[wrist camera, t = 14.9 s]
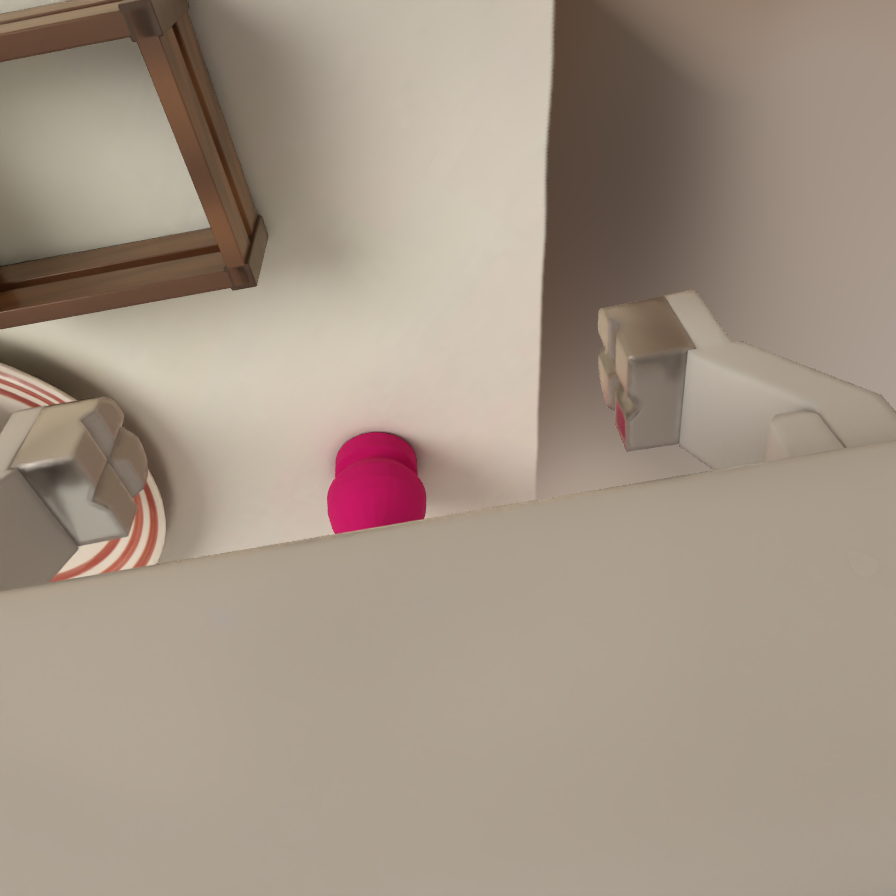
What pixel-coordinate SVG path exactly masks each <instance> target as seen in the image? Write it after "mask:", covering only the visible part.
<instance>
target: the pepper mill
mask: <svg viewBox="0 0 896 896" xmlns="http://www.w3.org/2000/svg"><path fill="white" fill-rule="evenodd" d="M327 504H328V516H329V519H330V522H331V526H332V529H333V531H334V533H335V534H339V533H345V532H351V531H357V530H363V529H368V528H374V527H380V526H386V525H392V524H398V523H404V522H410V521H416V520H422V519H424V517H425V513H426V492H425V489H424V486H423V483H422V482H421V480H420V479H419V477H418V473H417V459H416V455H415V452H414V450H413V449H412V447H411V446H410V445H409V444H408V443H407V442H406V441H404V440H403V439H401V438H399V437H397V436H394V435H391V434H388V433H379V432H371V433H366V434H361V435H359V436H356V437H354V438H352V439H350V440H349V441H348V442H346V443H345V444H344V445H343V446H342V448H341V449H340V450H339V452H338V454H337V457H336V467H335V479H334V480H333V482H332V484H331V486H330V488H329V491H328V496H327Z"/></svg>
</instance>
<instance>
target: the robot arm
mask: <svg viewBox="0 0 896 896" xmlns="http://www.w3.org/2000/svg"><path fill="white" fill-rule="evenodd" d="M598 332H599V335H600V337H601V339H602V341H603V344H604V347H603V348H602V350H601V351H600V352H599V354H598V358H599V374H600V381H601V388H602V391H603V395H604V398H605V401H606V403H607V406H608V408H610V409H612V410H613V411H615V425H616V428H617V430H618V432H619V435H620V437H621V440H622V442H623V444H624V447H625V449H626V451H633V450H641V449H648V448H655V447H662V446H668V445H676V444H679V447H681V448H682V449H684V450H685V451H687V452H688V453H689V454H691V455H692V456H694V457H695V458H697V459H698V460H700V461H701V462H703V463H704V464H705V465H707V466H708V467H710V468H711V469H713V470H712V471H706V472H701V473H694V474H688V475H682V476H676V477H670V478H664V479H659V480H652V481H647V482H641V483H635V484H629V485H623V486H617V487H611V488H605V489H599V490H593V491H587V492H581V493H576V494H569V495H564V496H558V497H552V498H546V499H541V500H534V501H528V502H522V503H516V504H510V505H504V506H499V507H493V508H487V509H481V510H475V511H469V512H463V513H457V514H451V515H445V516H439V517H434V518H428V519H422V520H416V521H410V522H404V523H398V524H392V525H386V526H380V527H374V528H368V529H363V530H357V531H351V532H345V533H339V534H333V535H327V536H321V537H315V538H309V539H303V540H297V541H291V542H286V543H280V544H274V545H268V546H262V547H256V548H250V549H244V550H238V551H232V552H226V553H220V554H214V555H209V556H203V557H197V558H191V559H185V560H179V561H173V562H167V563H161V564H155V565H149V566H143V567H137V568H132V569H126V570H120V571H114V572H108V573H102V574H96V575H90V576H84V577H78V578H72V579H66V580H60V581H55V582H50V581H51V580H52V579H53V578H54V577H55V575H56V574H57V573H58V572H59V571H60V570H61V569H62V568H63V566H64V565H65V564H66V563H67V562H68V561H69V560H70V559H71V557H72V556H73V555H74V554H75V553H76V552H77V551H78V550H79V547H78V546H83V545H88V544H94V543H99V542H104V541H109V540H114V539H119V538H124V537H128V536H129V533H130V530H131V527H132V524H133V521H134V518H135V515H136V512H137V509H138V506H137V505H136V503H135V502H134V500H133V498H134V497H135V496H136V495H137V494H138V493H139V492H140V491H142V490H143V489H144V487H145V484H146V480H147V477H148V464H147V457H146V454H145V451H144V448H143V445H142V444H141V442H140V440H139V439H138V437H137V435H135V434H134V433H132V432H130V431H128V430H126V429H125V428H123V427H122V423H123V419H124V416H125V415H124V414H123V412H122V410H121V409H120V407H119V406H118V404H117V403H116V401H115V400H114V399H111V398H109V397H107V396H103V397H97V398H91V399H84V400H78V401H72V402H65V403H59V404H53V405H49V406H40V407H34V408H29V409H24V410H20V411H18V412H15V413H13V414H12V416H11V417H10V419H9V421H8V422H7V424H6V426H5V427H4V429H3V431H2V432H1V434H0V896H896V411H895V410H894V409H893V408H892V407H891V406H890V404H889V403H888V402H887V401H886V400H885V399H884V397H883V396H882V395H880V394H877V393H875V392H872V391H870V390H867V389H864V388H862V387H859V386H856V385H854V384H851V383H849V382H846V381H844V380H841V379H838V378H836V377H833V376H830V375H828V374H825V373H823V372H820V371H818V370H815V369H812V368H810V367H807V366H805V365H802V364H800V363H797V362H794V361H792V360H789V359H787V358H784V357H781V356H779V355H776V354H773V353H771V352H768V351H766V350H763V349H761V348H758V347H755V346H753V345H750V344H747V343H745V342H742V341H741V342H734V343H732V341H731V340H730V339H729V337H728V336H727V334H726V333H725V331H724V330H723V329H722V327H721V326H720V325H719V323H718V322H717V320H716V319H715V317H714V316H713V315H712V313H711V312H710V310H709V309H708V308H707V306H706V305H705V304H704V302H703V301H702V299H701V298H700V296H699V295H698V294H697V292H695V291H693V290H688V291H684V292H679V293H674V294H670V295H665V296H661V297H657V298H652V299H648V300H642V301H637V302H632V303H628V304H622V305H618V306H612V307H608V308H603V309H599V316H598Z"/></svg>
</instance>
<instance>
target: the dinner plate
mask: <svg viewBox="0 0 896 896" xmlns="http://www.w3.org/2000/svg"><path fill="white" fill-rule="evenodd" d="M72 401H77V400H76V399H74V398H73V397H71V396H69V395H68V394H66V393H65V392H63V391H61V390H60V389H58V388H56V387H54V386H52V385H50V384H48V383H47V382H45V381H43V380H41V379H38V378H36V377H34V376H32V375H30V374H27V373H25V372H23V371H20V370H18V369H16V368H13V367H11V366H8V365H6V364H3V363H0V434H1V432H2V431H3V429H4V427H5V426H6V424H7V422H8V421H9V419H10V417H11V416H12V414H13V413H15V412H18V411H20V410H24V409H29V408H34V407H40V406H49V405H53V404H59V403H65V402H72ZM133 500H134V502H135V503H136V505H137V506H138V509H137V512H136V515H135V518H134V521H133V524H132V527H131V530H130V533H129V536H128V537H124V538H119V539H114V540H109V541H104V542H99V543H94V544H88V545H83V546H78V547H79V550H78V551H77V552H76V553H75V554H74V555H73V556H72V557H71V559H70V560H69V561H68V562H67V563H66V564H65V565H64V566H63V568H62V569H61V570H60V571H59V572H58V573H57V574H56V575H55V577H54V578H53V579H52V580H51V581H50V582H55V581H60V580H66V579H72V578H78V577H84V576H90V575H96V574H102V573H108V572H114V571H120V570H126V569H132V568H137V567H143V566H149V565H155V564H157V562H158V560H159V557H160V555H161V552H162V550H163V546H164V542H165V536H166V517H165V510H164V505H163V501H162V498H161V495H160V492H159V490H158V487H157V485H156V483H155V481H154V478H153V477H152V475H151V473H150V471H149V469H148V477H147V480H146V484H145V487H144V489H143V490H142V491H140V492H139V493H138V494H137V495H136V496H135V497H134V498H133Z"/></svg>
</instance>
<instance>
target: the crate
mask: <svg viewBox="0 0 896 896" xmlns="http://www.w3.org/2000/svg"><path fill="white" fill-rule="evenodd" d="M188 8H189V4H188V1H187V0H69V1H64V2H59V3H54V4H49V5H44V6H39V7H34V8H29V9H24V10H19V11H14V12H8V13H3V14H0V62H4V61H9V60H14V59H19V58H25V57H30V56H35V55H40V54H45V53H50V52H55V51H60V50H66V49H71V48H76V47H81V46H86V45H91V44H96V43H101V42H107V41H112V40H117V39H122V38H127V37H130V38H131V40H132V41H133V42H136V41H137V43H138V45H139V48H140V50H141V53H142V55H143V58H144V61H145V63H146V66H147V68H148V71H149V73H150V76H151V78H152V81H153V83H154V86H155V88H156V91H157V93H158V96H159V98H160V101H161V103H162V106H163V108H164V111H165V113H166V116H167V118H168V121H169V123H170V126H171V128H172V131H173V133H174V136H175V138H176V141H177V143H178V146H179V149H180V151H181V154H182V156H183V159H184V161H185V164H186V166H187V169H188V171H189V174H190V176H191V179H192V181H193V184H194V186H195V189H196V191H197V194H198V196H199V199H200V201H201V204H202V206H203V209H204V211H205V214H206V216H207V219H208V221H209V224H210V226H211V228H208V229H202V230H197V231H191V232H186V233H181V234H175V235H170V236H164V237H159V238H153V239H148V240H143V241H137V242H132V243H126V244H121V245H116V246H110V247H105V248H99V249H94V250H88V251H83V252H78V253H72V254H67V255H61V256H56V257H50V258H45V259H40V260H34V261H29V262H23V263H18V264H12V265H7V266H2V267H0V329H5V328H11V327H16V326H22V325H27V324H33V323H38V322H44V321H50V320H55V319H61V318H66V317H72V316H77V315H83V314H88V313H94V312H99V311H105V310H110V309H116V308H121V307H127V306H132V305H138V304H143V303H149V302H154V301H160V300H165V299H171V298H177V297H182V296H188V295H193V294H199V293H204V292H210V291H215V290H221V289H226V288H231V289H232V290H239V289H244V288H250V287H255V286H257V283H258V279H259V275H260V270H261V266H262V261H263V257H264V253H265V248H266V244H267V240H268V234H267V232H266V229H265V226H264V223H263V220H262V217H261V216H257V213H256V210H255V207H254V204H253V201H252V198H251V195H250V193H249V190H248V187H247V184H246V181H245V178H244V175H243V172H242V170H241V167H240V164H239V161H238V158H237V155H236V152H235V149H234V146H233V144H232V141H231V138H230V135H229V132H228V129H227V126H226V123H225V120H224V118H223V115H222V112H221V109H220V106H219V103H218V100H217V97H216V95H215V92H214V89H213V86H212V83H211V80H210V77H209V74H208V71H207V69H206V66H205V63H204V60H203V57H202V54H201V51H200V48H199V45H198V43H197V40H196V37H195V34H194V31H193V28H192V25H191V22H190V20H189V17H188V14H187V11H186V10H187V9H188Z"/></svg>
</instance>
